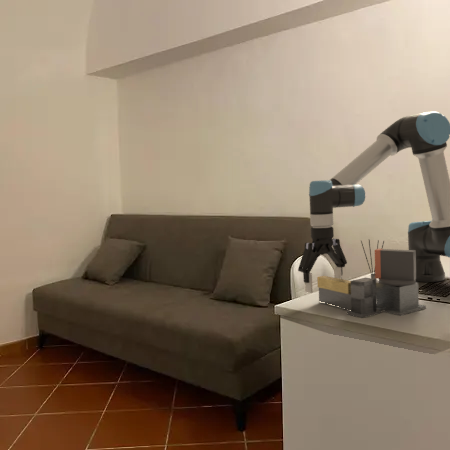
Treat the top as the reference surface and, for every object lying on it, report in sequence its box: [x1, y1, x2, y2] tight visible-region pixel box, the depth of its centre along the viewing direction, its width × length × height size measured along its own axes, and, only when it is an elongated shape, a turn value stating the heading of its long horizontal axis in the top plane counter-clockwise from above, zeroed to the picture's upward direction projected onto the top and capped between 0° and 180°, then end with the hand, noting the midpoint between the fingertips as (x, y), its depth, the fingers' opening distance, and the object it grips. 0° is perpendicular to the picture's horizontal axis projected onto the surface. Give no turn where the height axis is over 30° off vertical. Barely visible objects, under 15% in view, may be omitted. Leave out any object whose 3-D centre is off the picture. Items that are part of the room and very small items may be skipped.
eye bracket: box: [318, 277, 383, 319], centre depth 162 cm, size 9×22×10 cm, turn 33°
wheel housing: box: [376, 281, 427, 316], centre depth 159 cm, size 12×12×8 cm
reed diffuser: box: [360, 239, 385, 283], centre depth 177 cm, size 10×7×20 cm
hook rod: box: [316, 275, 352, 294], centre depth 165 cm, size 3×14×4 cm, turn 33°
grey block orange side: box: [374, 248, 417, 286], centre depth 158 cm, size 12×11×10 cm
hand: (323, 288), depth 170 cm, fingers open, 13 cm apart
